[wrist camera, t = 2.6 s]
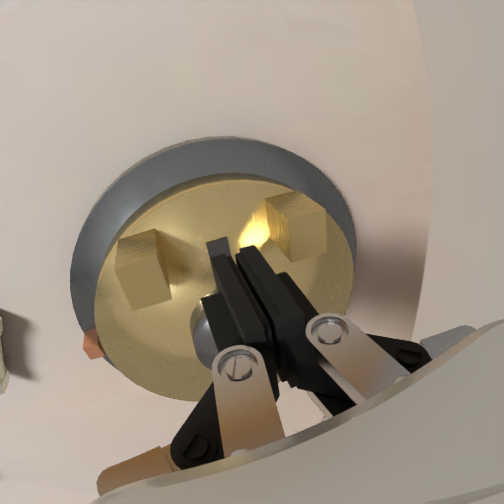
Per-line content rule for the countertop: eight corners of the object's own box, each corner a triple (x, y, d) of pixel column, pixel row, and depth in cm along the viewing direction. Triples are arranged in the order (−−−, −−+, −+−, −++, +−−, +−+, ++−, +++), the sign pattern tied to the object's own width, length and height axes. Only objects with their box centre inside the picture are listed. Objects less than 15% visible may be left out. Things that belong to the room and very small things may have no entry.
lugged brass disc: (333, 338, 28) (362, 378, 24) (152, 398, 25) (160, 449, 20) (333, 148, 19) (388, 169, 14) (55, 221, 15) (27, 269, 11)
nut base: (384, 193, 24) (410, 207, 21) (283, 380, 32) (295, 402, 29) (108, 95, 15) (100, 94, 12) (71, 366, 22) (68, 395, 20)
